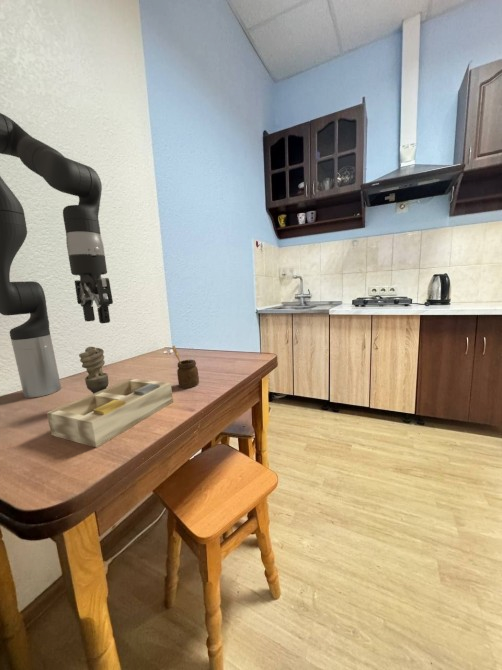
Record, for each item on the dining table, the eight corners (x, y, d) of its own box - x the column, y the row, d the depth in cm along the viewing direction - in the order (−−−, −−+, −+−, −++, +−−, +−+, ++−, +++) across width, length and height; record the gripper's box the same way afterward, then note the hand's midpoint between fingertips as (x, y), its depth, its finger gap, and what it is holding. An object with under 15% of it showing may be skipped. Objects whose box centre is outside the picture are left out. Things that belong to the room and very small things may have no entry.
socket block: (51, 435, 57) (46, 409, 56) (133, 396, 76) (130, 376, 75) (96, 447, 51) (91, 419, 50) (173, 401, 70) (170, 380, 69)
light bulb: (101, 406, 70) (91, 348, 68) (83, 406, 71) (72, 349, 69) (116, 397, 76) (107, 343, 73) (99, 397, 77) (89, 344, 74)
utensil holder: (197, 387, 79) (192, 346, 77) (175, 389, 79) (170, 348, 77) (201, 380, 85) (197, 342, 82) (180, 382, 85) (176, 343, 83)
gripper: (58, 256, 67) (69, 322, 70) (81, 250, 58) (93, 326, 61) (91, 257, 73) (100, 318, 76) (116, 251, 64) (126, 321, 67)
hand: (97, 322), depth 69 cm, fingers open, 8 cm apart
